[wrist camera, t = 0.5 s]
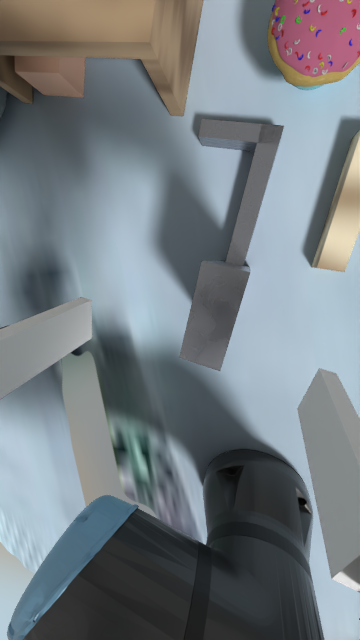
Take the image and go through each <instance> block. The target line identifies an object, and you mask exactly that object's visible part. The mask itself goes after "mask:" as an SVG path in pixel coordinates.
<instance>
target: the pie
mask: <svg viewBox="0 0 360 640" xmlns="http://www.w3.org/2000/svg"><path fill="white" fill-rule="evenodd" d="M6 96H7V91H6V90H5V89H3V88H2V87H1V86H0V119H1V117H2V114H3V112H4V109H5V105H6Z"/></svg>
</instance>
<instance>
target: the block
mask: <svg viewBox="0 0 360 640" xmlns="http://www.w3.org/2000/svg"><path fill="white" fill-rule="evenodd" d="M14 59H15V72H16V73H17V74H18V75H20V76H21V77H22V78H23V79H25V80H26V81H27V82H28V83H30V84H31V85H32V86H33V87H34V88H36V89H37V90H38V91H39V92H41V93H42V94H43V95H50V96H66V97H83V98H84V77H85V57H48V56H14Z"/></svg>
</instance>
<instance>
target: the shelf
mask: <svg viewBox="0 0 360 640" xmlns="http://www.w3.org/2000/svg"><path fill="white" fill-rule="evenodd" d="M202 5H203V0H0V86H1V87H2V88H3V89H5V90H6V91H8V92H9V93H11V94H12V95H13V96H15V97H16V98H18V99H19V100H21V101H22V102H23V103H33V86H32V85H31V84H30V83H28V82H27V81H26V80H25V79H23V78H22V77H21V76H20V75H18V74H17V73H16V72H15V59H14V56H48V57H85V58H122V59H141V61H142V63H143V64H144V66H145V68H146V70H147V72H148V74H149V76H150V77H151V79H152V81H153V83H154V85H155V87H156V89H157V90H158V92H159V94H160V96H161V98H162V100H163V102H164V103H165V105H166V107H167V109H168V111H169V113H170V115H174V116H184V110H185V104H186V99H187V93H188V87H189V81H190V75H191V69H192V64H193V58H194V52H195V46H196V40H197V34H198V29H199V23H200V17H201V11H202Z"/></svg>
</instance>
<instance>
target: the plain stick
mask: <svg viewBox="0 0 360 640" xmlns="http://www.w3.org/2000/svg"><path fill="white" fill-rule="evenodd" d="M359 231H360V130H359V131H358V132H357V134H356V135H355V136H354V137H353V138H352V141H351V144H350V147H349V150H348V153H347V157H346V160H345V163H344V166H343V169H342V172H341V175H340V179H339V182H338V185H337V188H336V191H335V194H334V198H333V201H332V204H331V207H330V210H329V213H328V216H327V220H326V223H325V226H324V229H323V232H322V235H321V239H320V242H319V245H318V248H317V251H316V254H315V257H314V261H313V264H312V267H314V268H320V269H327V270H333V271H341V272H345V269H346V267H347V264H348V261H349V258H350V256H351V253H352V250H353V247H354V245H355V242H356V239H357V236H358V234H359Z"/></svg>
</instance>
